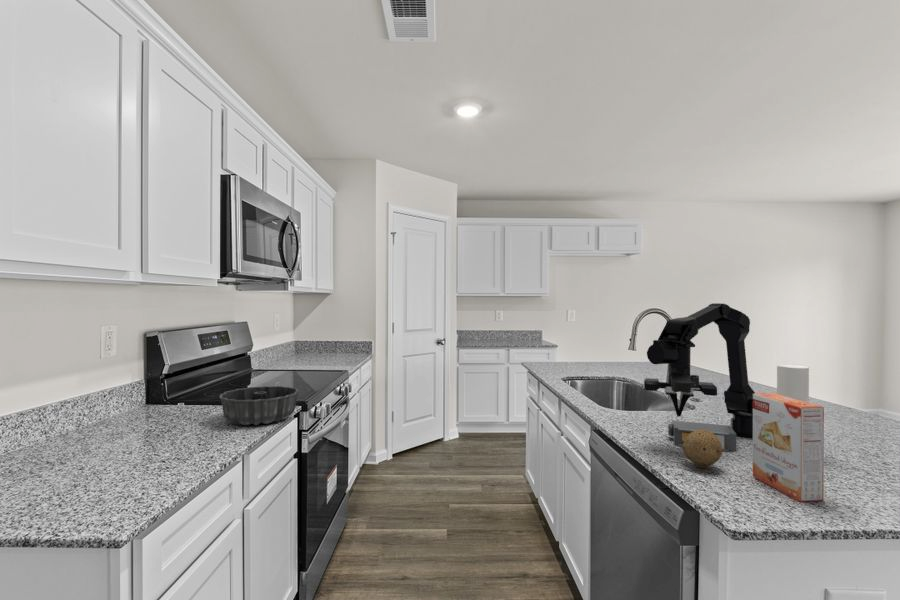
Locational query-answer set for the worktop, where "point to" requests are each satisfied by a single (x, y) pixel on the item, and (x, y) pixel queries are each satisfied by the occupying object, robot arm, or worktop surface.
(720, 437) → the side cover
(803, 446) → the cracker box
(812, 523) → the worktop surface
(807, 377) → the cylindrical container
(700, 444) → the potato
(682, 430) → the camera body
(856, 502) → the worktop surface
